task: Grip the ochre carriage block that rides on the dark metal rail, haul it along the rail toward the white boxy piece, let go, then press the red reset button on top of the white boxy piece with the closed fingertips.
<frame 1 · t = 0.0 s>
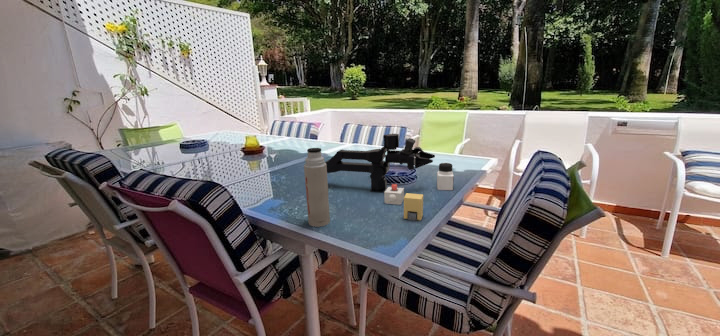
hand: (433, 158, 137), 17 cm above the table, tool horizontal, fingers open, 9 cm apart
thermos bottle: (319, 222, 117), on the table
medicine bottle: (444, 188, 150), on the table
white boxy piece: (394, 201, 135), on the table
rail: (415, 212, 123), on the table
carriage: (413, 206, 117), point 4 cm above the table, slide at 0.0 cm
button: (394, 187, 133), point 6 cm above the table, slide at 0.0 cm
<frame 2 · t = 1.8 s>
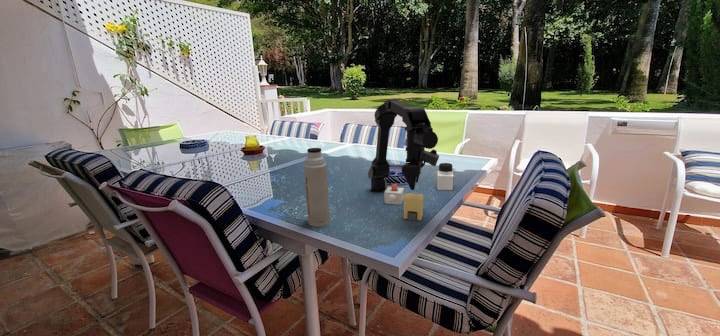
hand: (414, 186, 115), 12 cm above the table, tool pointing down, fingers open, 9 cm apart
nothing on the table moved.
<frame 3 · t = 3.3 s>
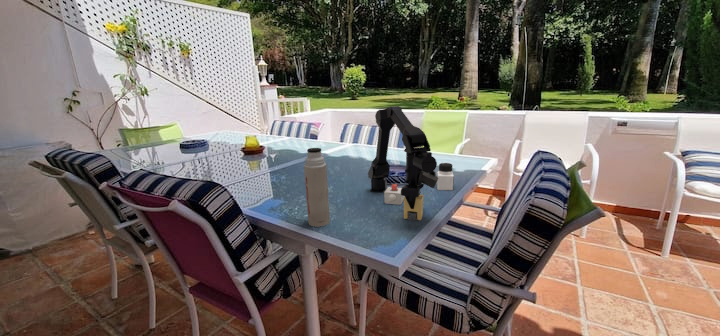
hand: (413, 206, 117), 5 cm above the table, tool pointing down, fingers closed on carriage, 5 cm apart
carriage: (413, 206, 117), point 4 cm above the table, slide at 0.0 cm, touching gripper
everything else where it was.
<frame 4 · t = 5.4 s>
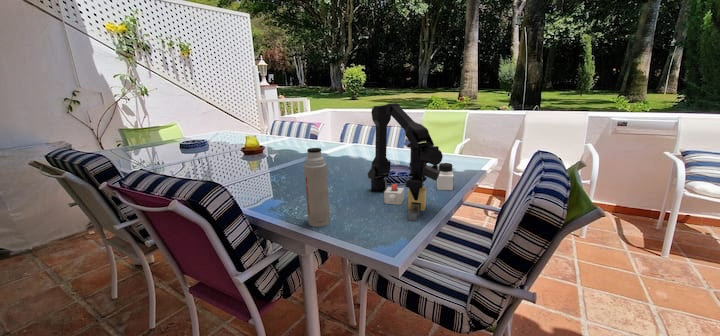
hand: (417, 197, 126), 4 cm above the table, tool pointing down, fingers closed on carriage, 5 cm apart
carriage: (417, 198, 126), point 4 cm above the table, slide at 9.1 cm, touching gripper
everything else where it was.
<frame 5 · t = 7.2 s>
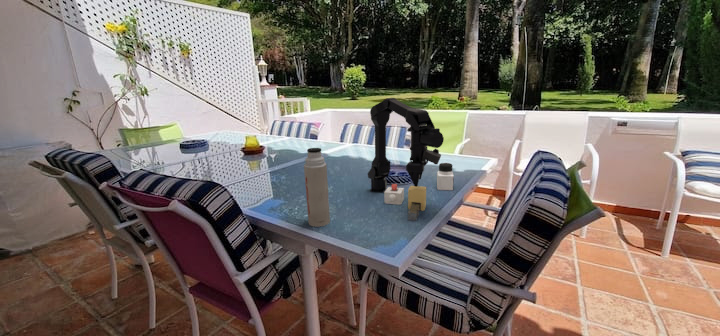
hand: (417, 182, 124), 11 cm above the table, tool pointing down, fingers open, 9 cm apart
carriage: (417, 197, 126), point 4 cm above the table, slide at 9.2 cm
everything else where it was.
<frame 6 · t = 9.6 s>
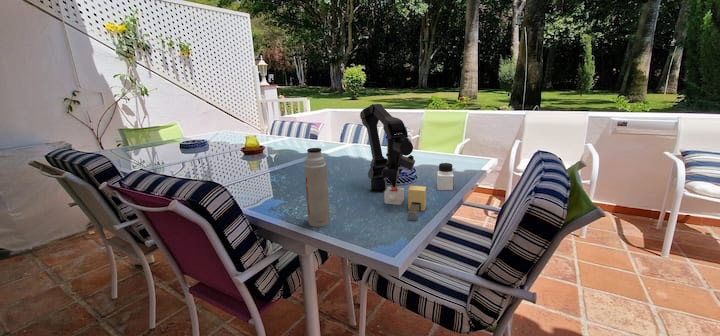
hand: (394, 186, 133), 7 cm above the table, tool pointing down, fingers closed, pressing on button
button: (394, 188, 134), point 6 cm above the table, slide at 0.7 cm, touching gripper
everything else where it was.
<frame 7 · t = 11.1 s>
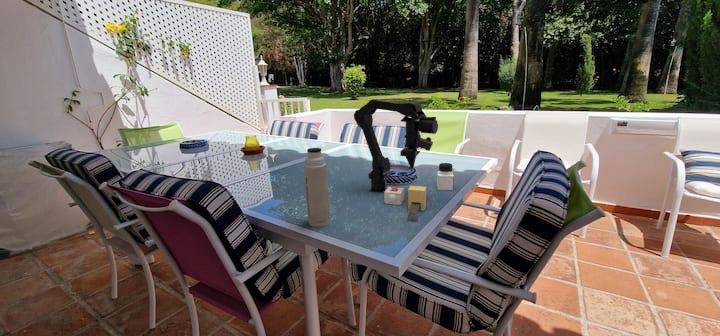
hand: (412, 167, 137), 13 cm above the table, tool pointing down, fingers closed
button: (394, 189, 134), point 5 cm above the table, slide at 1.1 cm
everything else where it was.
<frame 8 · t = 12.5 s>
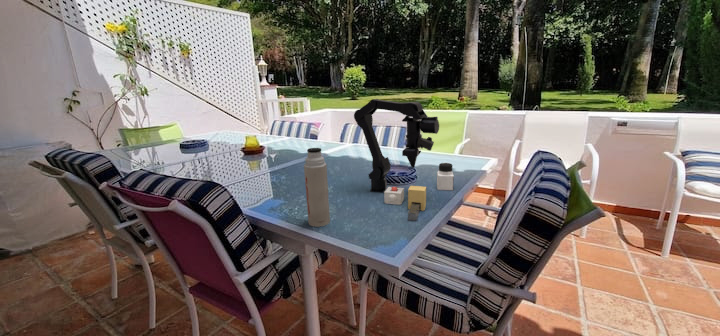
hand: (413, 167, 137), 13 cm above the table, tool pointing down, fingers closed
nothing on the table moved.
at the end: carriage slide at 9.2 cm; button slide at 1.1 cm; the gripper is holding nothing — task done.
